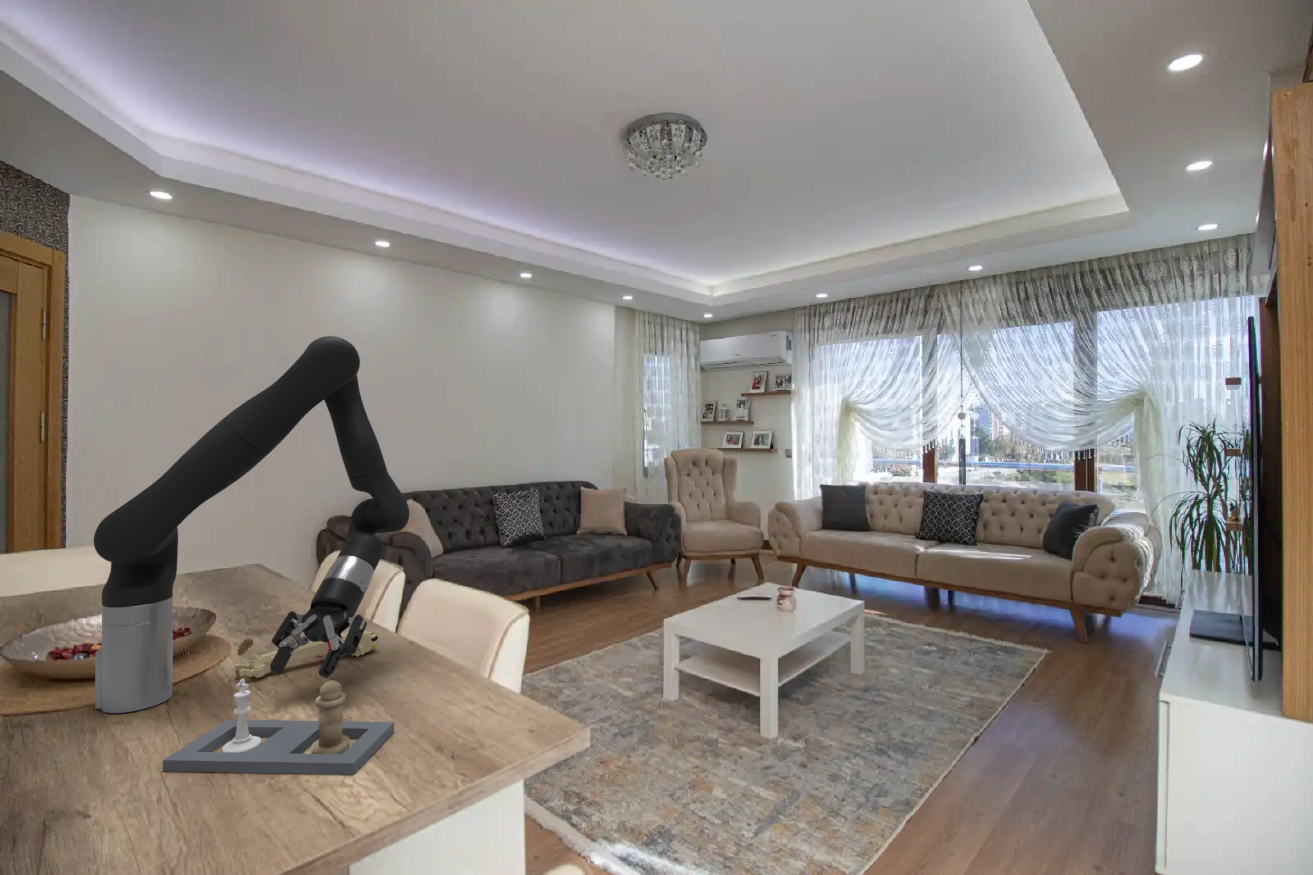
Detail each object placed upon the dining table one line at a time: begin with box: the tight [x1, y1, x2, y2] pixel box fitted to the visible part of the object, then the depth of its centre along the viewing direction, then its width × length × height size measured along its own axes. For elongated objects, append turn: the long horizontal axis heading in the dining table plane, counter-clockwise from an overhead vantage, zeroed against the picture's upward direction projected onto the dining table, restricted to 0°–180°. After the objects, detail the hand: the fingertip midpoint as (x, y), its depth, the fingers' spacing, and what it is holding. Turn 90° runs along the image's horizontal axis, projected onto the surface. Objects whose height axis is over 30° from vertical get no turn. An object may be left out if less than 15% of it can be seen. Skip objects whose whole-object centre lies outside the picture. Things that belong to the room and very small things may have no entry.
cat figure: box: [234, 629, 381, 684], centre depth 122 cm, size 10×9×25 cm
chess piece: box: [221, 679, 263, 753], centre depth 89 cm, size 5×5×10 cm
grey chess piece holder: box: [162, 719, 395, 776], centre depth 89 cm, size 26×12×2 cm, turn 89°
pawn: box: [310, 680, 350, 754], centre depth 89 cm, size 5×5×10 cm
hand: (298, 674), depth 101 cm, fingers open, 8 cm apart
